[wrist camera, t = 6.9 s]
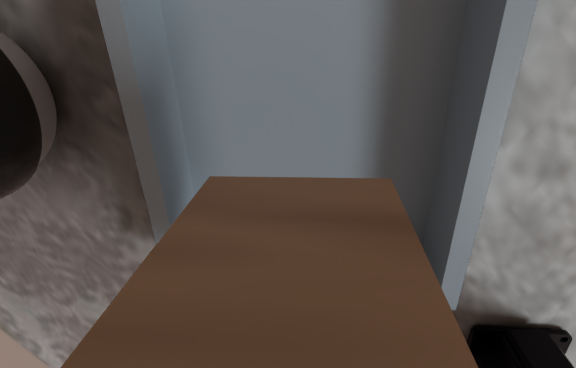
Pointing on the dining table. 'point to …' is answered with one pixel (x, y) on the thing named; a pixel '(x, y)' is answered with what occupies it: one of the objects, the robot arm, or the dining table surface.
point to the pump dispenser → (22, 117)
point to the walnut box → (282, 285)
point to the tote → (322, 100)
